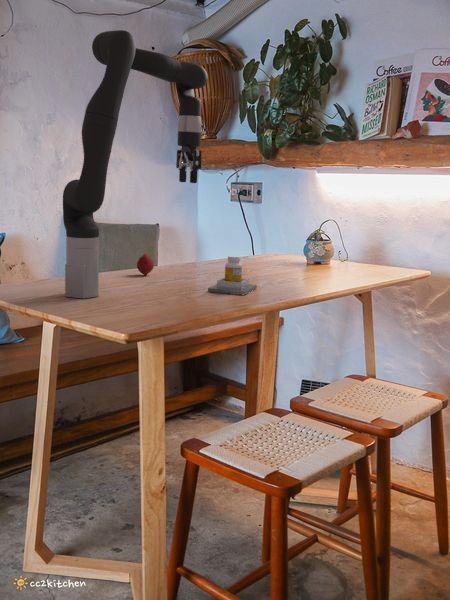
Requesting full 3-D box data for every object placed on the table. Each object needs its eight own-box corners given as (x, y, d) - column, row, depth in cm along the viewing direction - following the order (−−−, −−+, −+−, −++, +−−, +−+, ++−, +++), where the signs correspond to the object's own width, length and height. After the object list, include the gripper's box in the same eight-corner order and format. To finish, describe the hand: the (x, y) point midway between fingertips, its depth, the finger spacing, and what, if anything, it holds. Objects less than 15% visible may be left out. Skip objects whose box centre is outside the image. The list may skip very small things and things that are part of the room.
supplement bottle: (221, 285, 220) (223, 255, 218) (237, 284, 222) (238, 255, 220) (227, 288, 215) (229, 257, 213) (243, 287, 217) (245, 257, 215)
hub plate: (244, 295, 210) (245, 284, 210) (207, 291, 214) (208, 281, 213) (256, 288, 223) (257, 278, 223) (221, 285, 227) (222, 275, 226)
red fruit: (145, 277, 236) (145, 254, 235) (133, 275, 240) (133, 252, 238) (156, 275, 241) (157, 253, 239) (144, 273, 244) (145, 251, 243)
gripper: (209, 131, 214) (207, 183, 217) (191, 132, 226) (189, 182, 229) (187, 129, 210) (186, 183, 213) (170, 131, 223) (168, 181, 226)
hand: (187, 182), depth 221 cm, fingers open, 8 cm apart
